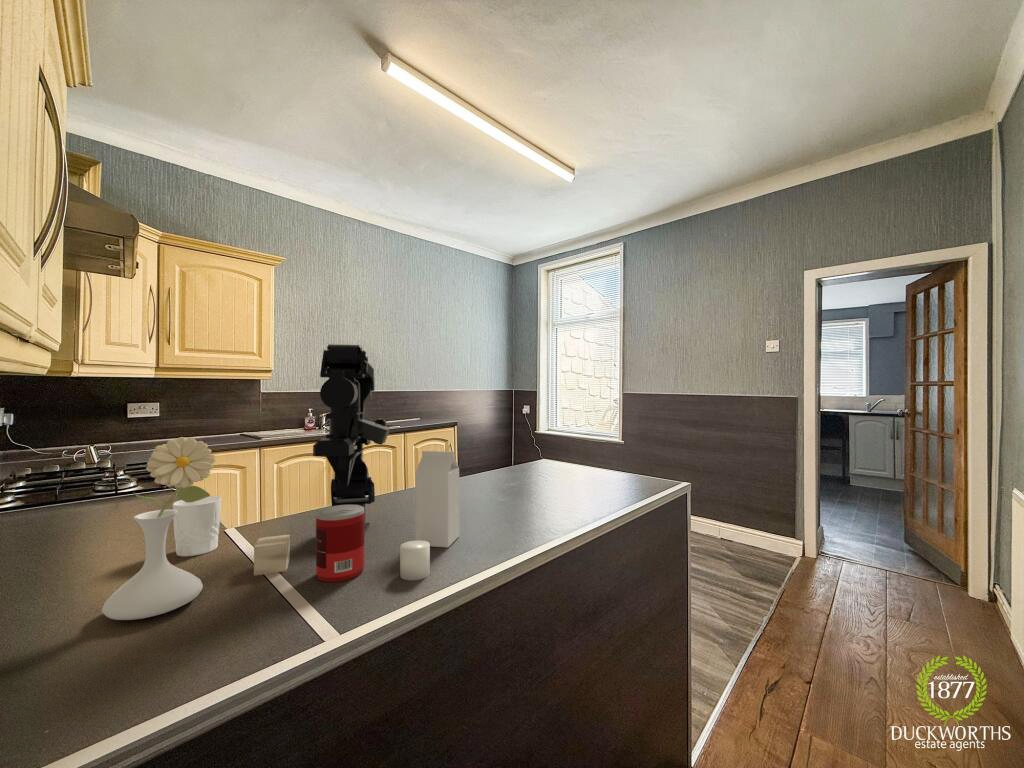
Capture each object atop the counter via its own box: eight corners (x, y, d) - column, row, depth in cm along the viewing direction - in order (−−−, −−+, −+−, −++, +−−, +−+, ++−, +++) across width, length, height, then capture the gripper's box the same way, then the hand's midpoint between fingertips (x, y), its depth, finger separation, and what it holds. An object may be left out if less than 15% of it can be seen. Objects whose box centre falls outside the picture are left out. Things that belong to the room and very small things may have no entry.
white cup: (225, 550, 86) (225, 500, 87) (176, 561, 81) (177, 508, 81) (215, 540, 92) (215, 494, 92) (168, 551, 86) (169, 501, 86)
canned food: (373, 567, 77) (373, 506, 78) (342, 586, 70) (342, 518, 70) (339, 561, 80) (339, 502, 80) (305, 579, 72) (305, 514, 73)
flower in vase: (84, 637, 56) (86, 444, 56) (122, 598, 66) (124, 436, 67) (205, 615, 61) (206, 439, 61) (222, 583, 71) (223, 432, 72)
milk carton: (448, 548, 86) (447, 454, 87) (415, 546, 88) (415, 453, 88) (459, 536, 93) (459, 449, 94) (429, 534, 95) (428, 448, 95)
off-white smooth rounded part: (402, 569, 77) (402, 540, 77) (430, 567, 77) (430, 539, 77) (398, 581, 72) (398, 551, 72) (428, 579, 72) (428, 549, 72)
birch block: (259, 565, 79) (259, 537, 79) (289, 561, 81) (289, 534, 81) (253, 576, 74) (254, 547, 74) (286, 571, 76) (286, 543, 76)
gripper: (377, 408, 77) (377, 496, 76) (394, 405, 95) (394, 476, 95) (312, 409, 76) (311, 498, 75) (342, 406, 94) (342, 477, 94)
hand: (344, 486), depth 85 cm, fingers closed
